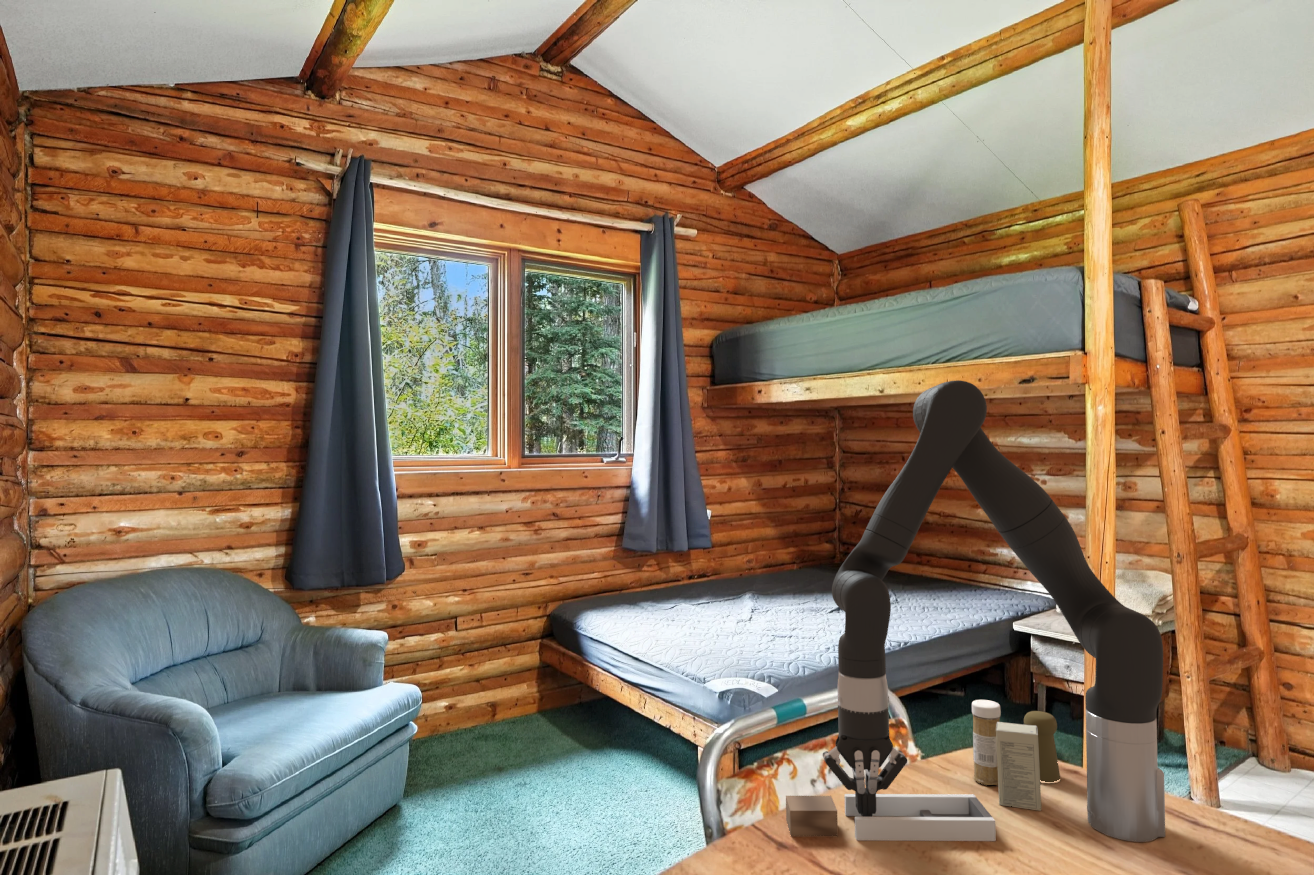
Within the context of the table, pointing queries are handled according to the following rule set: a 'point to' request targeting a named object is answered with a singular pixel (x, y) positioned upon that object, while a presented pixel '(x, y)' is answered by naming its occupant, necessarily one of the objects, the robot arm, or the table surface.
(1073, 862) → the table surface
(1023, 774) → the skincare box
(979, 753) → the sprinkles bottle
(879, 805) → the trap channel
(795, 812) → the walnut block
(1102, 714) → the robot arm
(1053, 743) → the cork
